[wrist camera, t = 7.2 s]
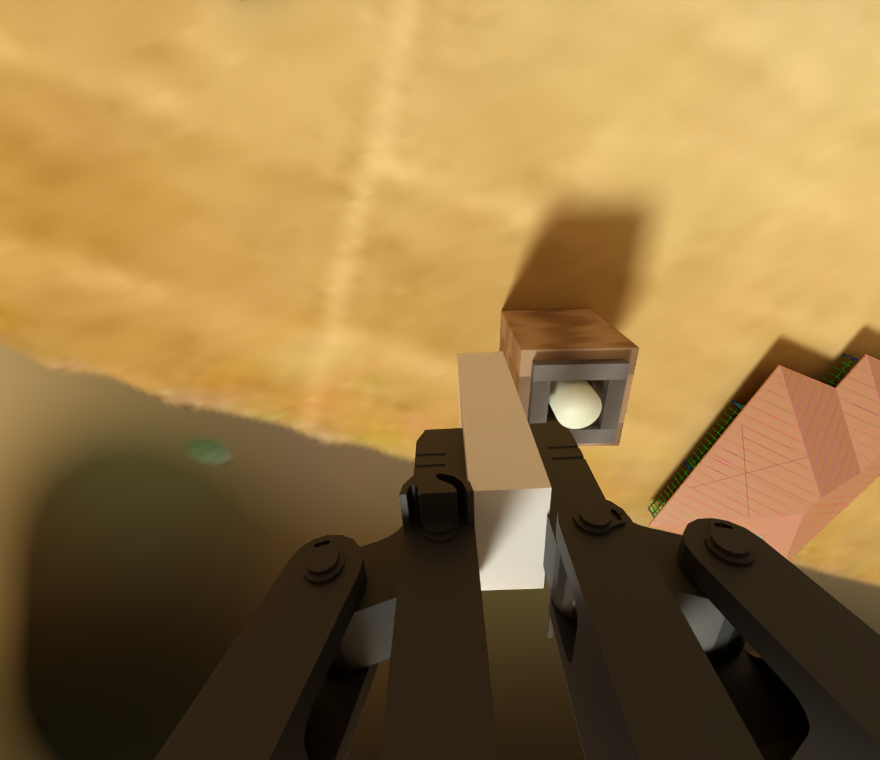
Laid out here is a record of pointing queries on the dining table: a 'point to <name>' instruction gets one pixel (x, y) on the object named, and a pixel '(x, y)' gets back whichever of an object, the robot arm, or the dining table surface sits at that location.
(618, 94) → the dining table surface
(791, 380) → the house
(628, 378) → the socket block
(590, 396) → the peg
